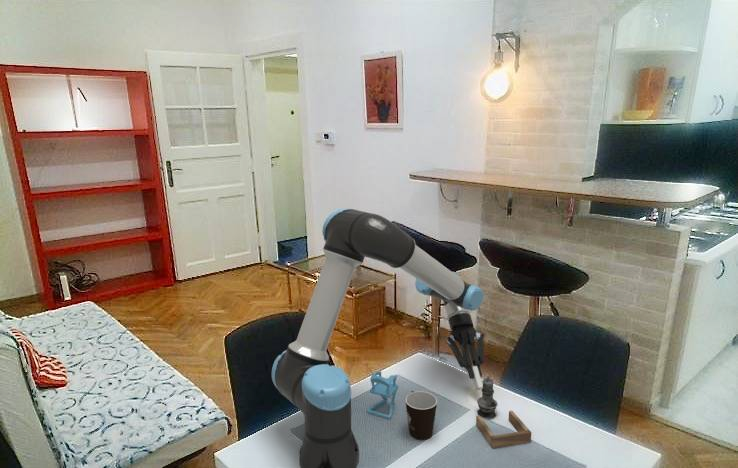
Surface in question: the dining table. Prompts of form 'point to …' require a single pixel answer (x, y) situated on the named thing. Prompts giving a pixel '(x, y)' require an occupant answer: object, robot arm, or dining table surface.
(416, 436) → the coffee mug
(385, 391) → the chair
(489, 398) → the chess piece
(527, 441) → the pocket
